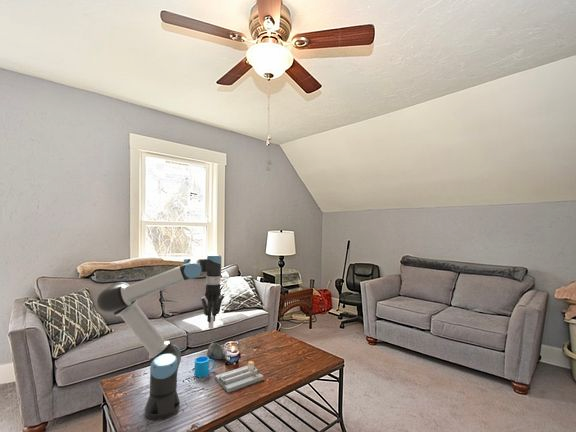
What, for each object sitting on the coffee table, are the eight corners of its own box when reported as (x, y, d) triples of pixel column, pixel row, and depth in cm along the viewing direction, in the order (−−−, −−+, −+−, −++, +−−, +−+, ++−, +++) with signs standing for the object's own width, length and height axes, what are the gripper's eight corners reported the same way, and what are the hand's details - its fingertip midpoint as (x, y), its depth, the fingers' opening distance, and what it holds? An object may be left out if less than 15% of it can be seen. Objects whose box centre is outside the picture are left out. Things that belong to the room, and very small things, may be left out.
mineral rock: (228, 360, 185) (228, 345, 185) (211, 364, 179) (212, 348, 180) (221, 353, 196) (221, 338, 196) (205, 356, 190) (206, 341, 191)
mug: (195, 378, 163) (196, 363, 163) (193, 371, 170) (193, 357, 171) (216, 373, 169) (217, 359, 169) (213, 367, 176) (213, 354, 176)
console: (227, 392, 150) (228, 385, 150) (215, 379, 163) (215, 372, 163) (263, 379, 164) (263, 373, 164) (249, 368, 176) (249, 362, 177)
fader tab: (250, 373, 166) (250, 363, 166) (247, 371, 168) (247, 361, 169) (253, 372, 168) (254, 362, 168) (251, 370, 170) (251, 360, 170)
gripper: (204, 286, 148) (201, 332, 147) (227, 283, 156) (225, 327, 156) (198, 283, 154) (196, 328, 153) (221, 281, 162) (219, 323, 161)
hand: (210, 327), depth 154 cm, fingers closed
